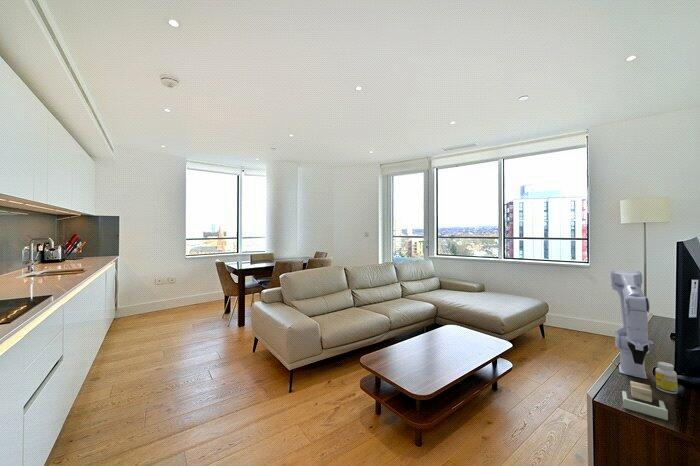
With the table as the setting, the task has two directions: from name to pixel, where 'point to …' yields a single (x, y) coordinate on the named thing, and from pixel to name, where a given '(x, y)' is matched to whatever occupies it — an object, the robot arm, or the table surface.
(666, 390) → the supplement bottle
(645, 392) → the birch block
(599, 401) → the table surface
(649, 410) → the dock
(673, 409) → the table surface
